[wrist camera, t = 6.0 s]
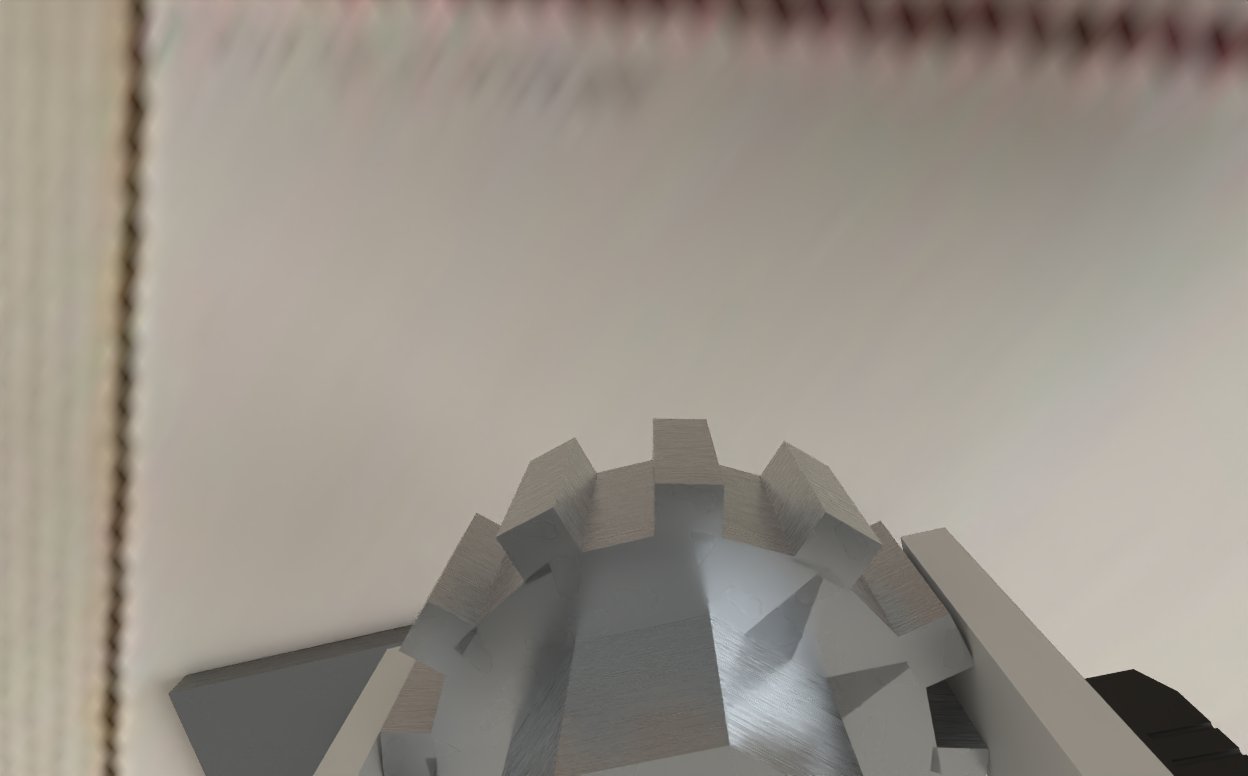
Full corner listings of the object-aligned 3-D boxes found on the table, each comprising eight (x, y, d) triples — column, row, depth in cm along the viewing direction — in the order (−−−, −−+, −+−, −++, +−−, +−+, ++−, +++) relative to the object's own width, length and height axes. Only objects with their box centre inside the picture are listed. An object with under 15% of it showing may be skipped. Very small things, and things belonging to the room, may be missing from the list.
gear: (376, 485, 13) (186, 681, 8) (865, 367, 12) (1037, 493, 7) (516, 873, 15) (442, 1247, 10) (945, 793, 14) (1127, 1151, 9)
